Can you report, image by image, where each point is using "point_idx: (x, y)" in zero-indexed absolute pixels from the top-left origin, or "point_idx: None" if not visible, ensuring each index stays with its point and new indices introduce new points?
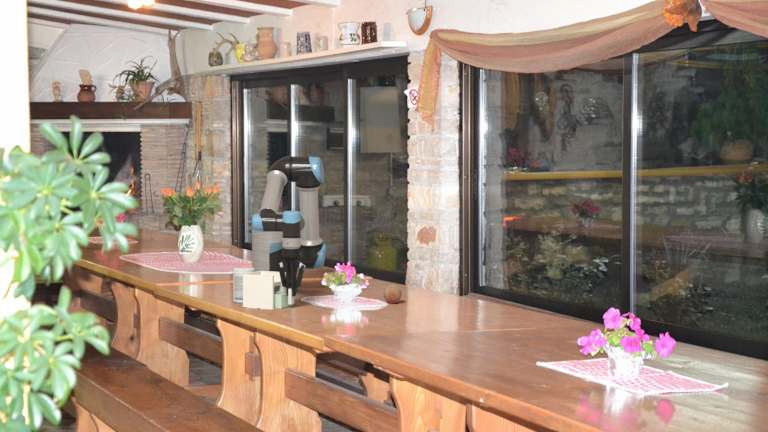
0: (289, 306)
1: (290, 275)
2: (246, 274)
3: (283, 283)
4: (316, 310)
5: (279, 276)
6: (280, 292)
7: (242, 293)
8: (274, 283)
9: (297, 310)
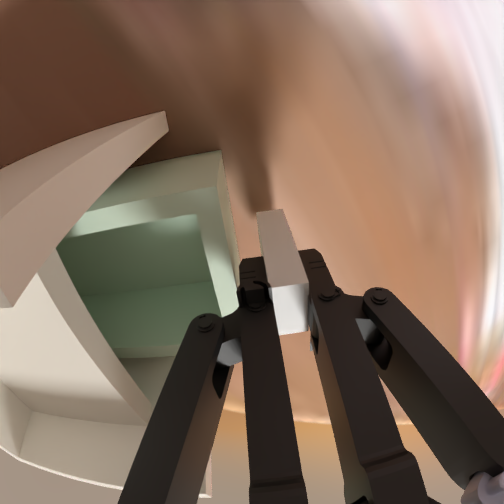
0: (226, 184)
1: (294, 435)
2: (34, 466)
3: (220, 381)
4: (430, 213)
5: None
6: (112, 225)
7: None
8: (88, 350)
9: (344, 265)
